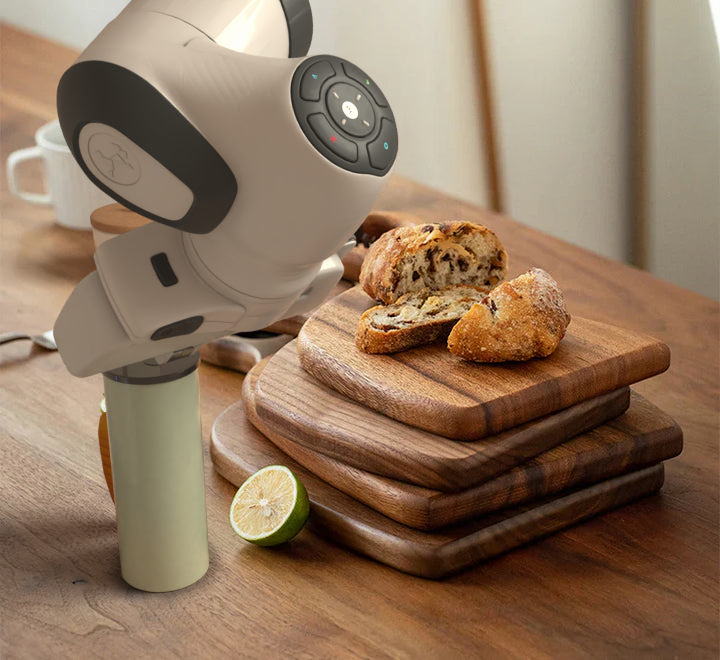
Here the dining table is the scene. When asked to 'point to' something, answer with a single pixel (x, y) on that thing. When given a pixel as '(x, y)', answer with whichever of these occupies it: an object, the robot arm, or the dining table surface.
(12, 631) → the dining table surface
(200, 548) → the travel cup
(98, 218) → the lidded bowl
